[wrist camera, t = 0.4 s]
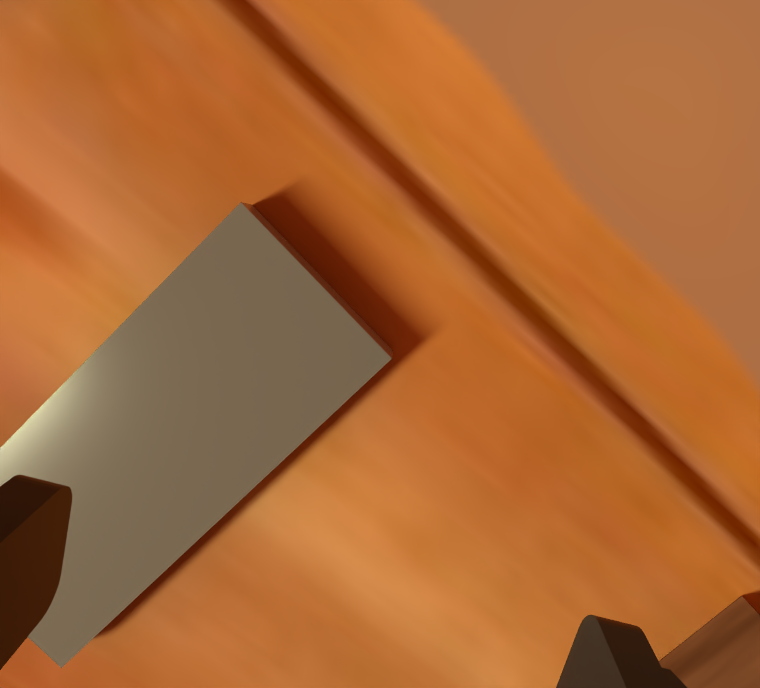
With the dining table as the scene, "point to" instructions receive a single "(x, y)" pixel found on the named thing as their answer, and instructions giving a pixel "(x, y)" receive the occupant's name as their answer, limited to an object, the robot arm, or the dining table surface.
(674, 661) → the stand
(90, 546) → the board
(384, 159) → the dining table surface
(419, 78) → the dining table surface
